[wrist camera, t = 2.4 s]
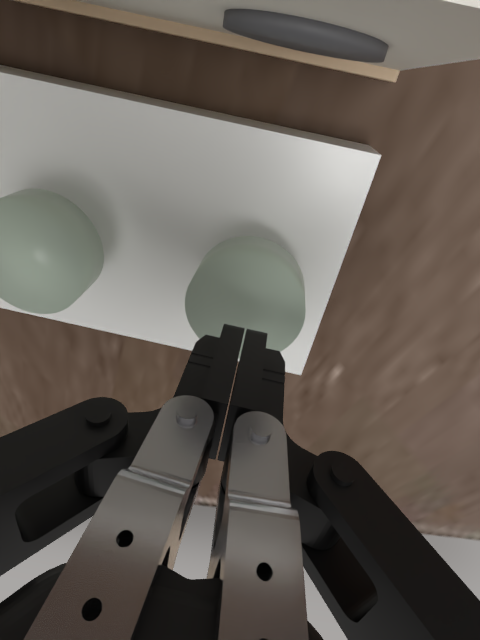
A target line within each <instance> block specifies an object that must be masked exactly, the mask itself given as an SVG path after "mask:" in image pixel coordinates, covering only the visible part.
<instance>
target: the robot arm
mask: <svg viewBox="0 0 480 640" xmlns="http://www.w3.org/2000/svg"><path fill="white" fill-rule="evenodd" d="M244 330H245V328H242V327H237V326H233V325H229V324H224V325H223V329H222V332H221V335H220V338H219V337H215V336H210V335H204V336H203V337H202V338H200V339H199V340H198V341H197V342H196V343H195V345H194V348H193V350H192V353H191V355H190V358H189V360H188V363H187V365H186V368H185V370H184V373H183V375H182V378H181V380H180V383H179V385H178V387H177V390H176V392H175V395H174V397H173V398H172V399H170V400H169V401H167V402H166V403H165V404H164V405H163V407H162V408H160V409H157V410H154V411H150V412H134V413H128V412H127V410H126V408H125V406H124V405H123V404H122V403H120V402H119V401H117V400H115V399H112V398H106V397H98V398H92V399H89V400H86V401H83V402H81V403H79V404H77V405H74V406H72V407H70V408H67V409H65V410H63V411H60V412H58V413H56V414H53V415H51V416H49V417H46V418H44V419H42V420H40V421H37V422H35V423H33V424H30V425H28V426H26V427H23V428H21V429H19V430H16V431H14V432H12V433H10V434H7V435H5V436H3V437H0V576H1V575H3V574H4V573H6V572H7V571H9V570H10V569H12V568H13V567H15V566H16V565H18V564H19V563H21V562H23V561H24V560H26V559H27V558H29V557H30V556H32V555H33V554H35V553H36V552H38V551H39V550H41V549H43V548H44V547H46V546H47V545H49V544H50V543H52V542H53V541H55V540H56V539H58V538H59V537H61V536H62V535H64V534H66V533H67V532H69V531H70V530H72V529H73V528H75V527H76V526H78V525H79V524H81V523H82V522H84V521H86V520H87V519H89V518H90V517H92V516H93V515H94V516H93V517H92V519H91V521H90V523H89V525H88V526H87V528H86V530H85V532H84V533H83V535H82V537H81V539H80V541H79V542H78V544H77V546H76V548H75V549H74V551H73V553H72V555H71V556H70V558H69V560H68V562H67V563H65V564H62V565H59V566H57V567H55V568H53V569H50V570H48V571H46V572H45V573H43V574H41V575H39V576H38V577H36V578H34V579H33V580H31V581H30V582H28V583H27V584H26V585H24V586H23V587H22V588H20V589H19V590H17V591H16V592H15V593H13V594H12V595H11V596H9V597H8V598H7V599H5V600H4V601H2V602H1V603H0V640H323V639H322V637H321V635H320V634H319V633H318V632H317V631H316V630H315V628H314V627H313V626H312V625H311V624H310V623H309V622H308V621H307V612H306V599H305V585H304V571H303V567H304V568H305V570H306V572H307V573H308V575H309V577H310V578H311V580H312V581H313V583H314V585H315V586H316V588H317V590H318V591H319V593H320V595H321V596H322V598H323V599H324V601H325V603H326V604H327V606H328V608H329V609H330V611H331V612H332V614H333V616H334V618H335V619H336V621H337V622H338V624H339V626H340V627H341V629H342V631H343V632H344V634H345V635H346V637H347V639H348V640H480V601H479V600H478V598H477V597H476V596H475V595H474V594H473V593H472V591H470V589H469V588H468V587H467V586H466V585H465V584H464V582H463V581H462V580H461V579H460V578H459V577H458V576H457V574H456V573H455V572H454V571H453V570H452V569H451V568H450V566H449V565H448V564H447V563H446V562H445V561H444V560H443V558H442V557H441V556H440V555H439V554H438V553H437V552H436V550H435V549H434V548H433V547H432V546H431V545H430V544H429V542H428V541H427V540H426V539H425V538H424V537H423V536H422V534H421V533H420V532H419V531H418V530H417V529H416V528H415V526H414V525H413V524H412V523H411V522H410V521H409V520H408V518H407V517H406V516H405V515H404V514H403V513H402V512H401V510H400V509H399V508H398V507H397V506H396V505H395V504H394V502H393V501H392V500H391V499H390V498H389V497H388V496H387V494H386V493H385V492H384V491H383V490H382V489H381V488H380V487H379V485H378V484H377V483H376V482H375V481H374V480H373V479H372V477H371V476H370V475H369V474H368V473H367V472H366V471H365V469H364V468H363V467H362V466H361V465H360V464H359V463H358V462H357V461H356V460H355V459H353V458H352V457H350V456H349V455H346V454H344V453H341V452H337V451H327V452H324V453H322V454H320V455H319V456H316V455H314V454H312V453H310V452H308V451H307V450H305V449H303V448H301V447H300V446H298V445H297V444H296V443H294V442H293V441H292V440H291V439H290V437H289V436H288V435H287V433H286V431H285V429H284V426H283V402H284V381H285V376H284V375H285V361H284V359H283V357H282V355H281V353H280V351H277V350H272V349H268V348H266V343H267V333H264V332H260V331H255V330H251V329H247V330H246V334H245V338H244V343H243V347H242V351H241V356H240V360H239V364H238V369H237V373H236V378H235V382H234V387H233V391H232V396H231V401H230V405H229V410H228V414H227V419H226V424H225V428H224V433H223V437H222V442H221V447H220V451H219V456H218V460H220V461H224V466H223V471H222V476H221V480H220V484H219V489H218V497H217V506H216V514H215V523H214V531H213V540H212V549H211V556H210V563H209V568H208V574H207V579H196V580H190V579H187V578H185V577H183V576H181V575H179V574H178V573H176V572H174V571H173V567H174V564H175V560H176V556H177V553H178V549H179V546H180V543H181V540H182V537H183V534H184V531H185V528H186V525H187V522H188V519H189V516H190V513H191V510H192V507H193V504H194V501H195V498H196V495H197V492H198V489H199V486H200V483H201V480H202V478H203V476H204V474H205V471H206V467H207V463H208V459H209V458H210V459H216V454H217V450H218V446H219V441H220V437H221V432H222V428H223V424H224V419H225V415H226V410H227V406H228V402H229V397H230V393H231V388H232V384H233V379H234V375H235V370H236V366H237V361H238V357H239V352H240V348H241V343H242V339H243V334H244Z"/></svg>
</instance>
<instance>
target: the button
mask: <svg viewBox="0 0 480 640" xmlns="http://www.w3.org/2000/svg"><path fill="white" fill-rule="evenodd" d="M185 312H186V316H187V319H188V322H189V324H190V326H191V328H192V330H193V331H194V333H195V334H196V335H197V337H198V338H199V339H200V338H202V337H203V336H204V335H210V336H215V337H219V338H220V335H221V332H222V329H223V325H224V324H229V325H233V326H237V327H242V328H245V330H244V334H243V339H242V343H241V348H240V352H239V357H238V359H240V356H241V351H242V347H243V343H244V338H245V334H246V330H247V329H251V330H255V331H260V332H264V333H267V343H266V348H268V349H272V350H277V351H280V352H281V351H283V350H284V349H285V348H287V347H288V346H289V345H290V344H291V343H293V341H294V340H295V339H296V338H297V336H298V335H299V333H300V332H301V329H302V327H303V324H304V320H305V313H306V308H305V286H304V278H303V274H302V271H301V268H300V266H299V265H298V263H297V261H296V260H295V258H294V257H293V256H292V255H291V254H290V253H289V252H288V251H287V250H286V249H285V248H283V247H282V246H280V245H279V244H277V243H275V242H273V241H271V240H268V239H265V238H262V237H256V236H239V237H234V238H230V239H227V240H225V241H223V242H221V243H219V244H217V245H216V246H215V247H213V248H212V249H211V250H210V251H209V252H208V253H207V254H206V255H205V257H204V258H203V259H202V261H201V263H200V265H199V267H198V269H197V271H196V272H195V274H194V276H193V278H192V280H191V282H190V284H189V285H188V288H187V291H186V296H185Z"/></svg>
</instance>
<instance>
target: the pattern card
mask: <svg viewBox="0 0 480 640" xmlns="http://www.w3.org/2000/svg"><path fill="white" fill-rule="evenodd" d="M11 1H15V2H20V3H24V4H29V5H34V6H38V7H43V8H48V9H52V10H57V11H62V12H66V13H71V14H75V15H80V16H85V17H89V18H94V19H99V20H103V21H108V22H113V23H117V24H122V25H126V26H131V27H136V28H140V29H145V30H150V31H154V32H159V33H164V34H168V35H173V36H177V37H182V38H187V39H191V40H196V41H201V42H205V43H210V44H214V45H219V46H224V47H228V48H233V49H238V50H242V51H247V52H252V53H256V54H261V55H265V56H270V57H275V58H279V59H284V60H289V61H293V62H298V63H303V64H307V65H312V66H316V67H321V68H326V69H330V70H335V71H340V72H344V73H349V74H353V75H358V76H363V77H367V78H372V79H377V80H381V81H386V82H396V80H397V77H398V74H399V71H401V70H408V69H414V68H421V67H428V66H435V65H442V64H449V63H456V62H463V61H469V60H476V59H480V0H11Z"/></svg>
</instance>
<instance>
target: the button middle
mask: <svg viewBox="0 0 480 640" xmlns="http://www.w3.org/2000/svg"><path fill="white" fill-rule="evenodd" d="M103 264H104V251H103V246H102V242H101V239H100V236H99V234H98V232H97V230H96V228H95V226H94V225H93V223H92V222H91V220H90V219H89V218H88V217H87V215H86V214H85V213H84V212H83V211H82V210H81V209H80V208H79V207H77V206H76V205H75V204H74V203H72V202H71V201H70V200H68V199H67V198H65V197H63V196H61V195H59V194H57V193H54V192H52V191H48V190H44V189H38V188H30V189H23V190H20V191H17V192H15V193H12V194H9V195H7V196H4V197H1V198H0V298H1V299H3V300H4V301H6V302H7V303H9V304H11V305H13V306H15V307H17V308H19V309H22V310H25V311H28V312H32V313H38V314H52V313H57V312H60V311H63V310H65V309H66V308H68V307H69V306H71V305H72V304H73V303H74V302H75V301H76V300H77V299H78V298H79V297H80V296H81V295H82V294H83V293H84V292H85V291H86V290H87V289H88V288H89V287H90V286H91V285H92V284H93V283H94V282H95V281H96V280H97V279H98V277H99V276H100V274H101V271H102V269H103Z"/></svg>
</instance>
